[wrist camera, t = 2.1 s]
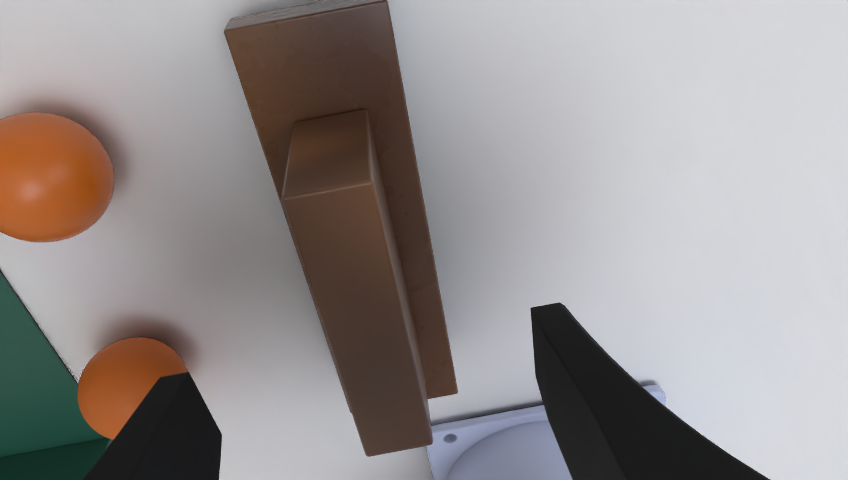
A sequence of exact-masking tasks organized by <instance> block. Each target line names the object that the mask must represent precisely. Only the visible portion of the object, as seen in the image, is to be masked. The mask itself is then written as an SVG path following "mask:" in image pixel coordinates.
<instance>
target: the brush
mask: <svg viewBox="0 0 848 480" xmlns="http://www.w3.org/2000/svg"><path fill="white" fill-rule="evenodd" d="M224 34H225V37H226V40H227V43H228V46H229V49H230V52H231V55H232V58H233V61H234V64H235V67H236V70H237V73H238V76H239V79H240V82H241V85H242V88H243V91H244V94H245V97H246V100H247V103H248V106H249V109H250V112H251V115H252V118H253V121H254V124H255V127H256V130H257V133H258V136H259V139H260V142H261V145H262V148H263V151H264V154H265V157H266V160H267V163H268V166H269V169H270V172H271V175H272V178H273V181H274V184H275V187H276V190H277V193H278V196H279V199H280V202H281V205H282V208H283V211H284V214H285V217H286V220H287V223H288V226H289V229H290V232H291V235H292V238H293V241H294V244H295V247H296V250H297V253H298V256H299V259H300V262H301V265H302V268H303V271H304V274H305V277H306V280H307V283H308V286H309V289H310V292H311V295H312V298H313V301H314V304H315V307H316V310H317V313H318V316H319V319H320V322H321V325H322V328H323V331H324V334H325V337H326V340H327V343H328V346H329V349H330V353H331V356H332V359H333V362H334V365H335V368H336V371H337V374H338V377H339V380H340V383H341V386H342V389H343V392H344V395H345V398H346V401H347V404H348V407H349V410H350V412H351V413H352V415H353V418H354V421H355V424H356V427H357V430H358V433H359V436H360V439H361V442H362V445H363V448H364V451H365V454H366V456H369V457H370V456H375V455H380V454H386V453H391V452H396V451H402V450H407V449H413V448H418V447H423V446H429V445H432V443H433V436H432V429H431V422H430V414H429V407H428V400H427V399H431V398H436V397H442V396H447V395H452V394H457V393H458V389H457V384H456V378H455V373H454V367H453V362H452V356H451V350H450V345H449V339H448V334H447V328H446V323H445V317H444V312H443V306H442V300H441V295H440V289H439V284H438V278H437V273H436V267H435V262H434V256H433V250H432V245H431V239H430V234H429V228H428V223H427V217H426V212H425V206H424V200H423V195H422V189H421V184H420V178H419V173H418V167H417V162H416V156H415V150H414V145H413V139H412V134H411V128H410V123H409V117H408V112H407V106H406V100H405V95H404V89H403V84H402V78H401V73H400V67H399V62H398V56H397V50H396V45H395V39H394V34H393V28H392V23H391V17H390V12H389V6H388V1H387V0H328V1H323V2H317V3H312V4H307V5H301V6H296V7H291V8H285V9H280V10H275V11H269V12H264V13H259V14H253V15H248V16H243V17H237V18H232V19H231V20H230V21H229V23H228V25H227V26H226V28H225V30H224Z"/></svg>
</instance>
